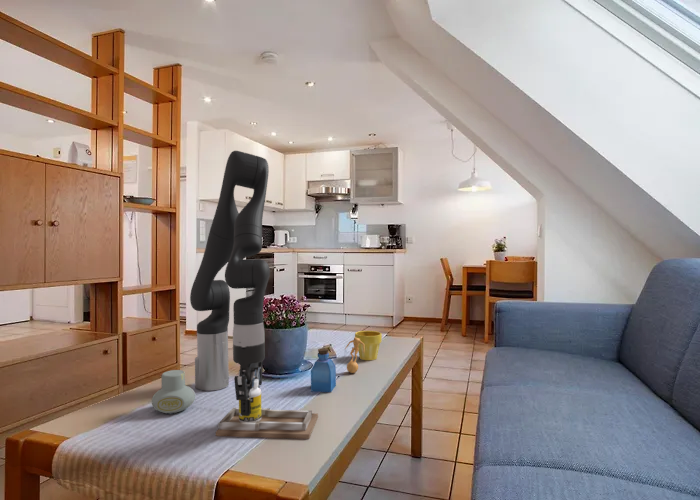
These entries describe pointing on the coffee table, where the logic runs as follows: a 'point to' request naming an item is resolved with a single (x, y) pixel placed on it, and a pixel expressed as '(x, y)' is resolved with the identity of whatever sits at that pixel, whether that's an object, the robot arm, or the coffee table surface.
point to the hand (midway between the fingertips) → (249, 409)
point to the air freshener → (173, 393)
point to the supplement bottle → (253, 405)
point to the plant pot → (369, 344)
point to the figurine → (352, 365)
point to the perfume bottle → (323, 373)
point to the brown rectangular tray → (270, 424)
